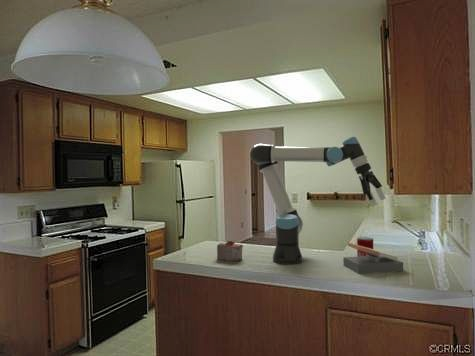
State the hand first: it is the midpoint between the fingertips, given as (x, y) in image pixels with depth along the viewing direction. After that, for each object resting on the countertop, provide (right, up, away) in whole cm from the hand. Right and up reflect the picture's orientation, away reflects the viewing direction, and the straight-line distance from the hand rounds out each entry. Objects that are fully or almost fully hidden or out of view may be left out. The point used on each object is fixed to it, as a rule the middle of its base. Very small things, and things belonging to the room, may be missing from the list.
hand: (379, 202), depth 168 cm
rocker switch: (-10, -24, -14) cm, 29 cm away
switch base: (-9, -30, -14) cm, 34 cm away
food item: (-77, -31, +4) cm, 83 cm away
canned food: (-5, -30, +5) cm, 31 cm away
